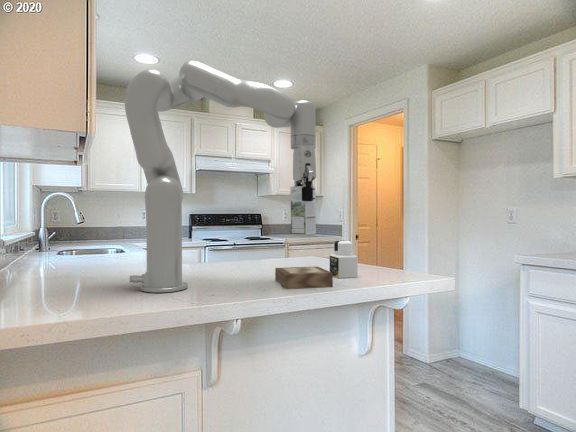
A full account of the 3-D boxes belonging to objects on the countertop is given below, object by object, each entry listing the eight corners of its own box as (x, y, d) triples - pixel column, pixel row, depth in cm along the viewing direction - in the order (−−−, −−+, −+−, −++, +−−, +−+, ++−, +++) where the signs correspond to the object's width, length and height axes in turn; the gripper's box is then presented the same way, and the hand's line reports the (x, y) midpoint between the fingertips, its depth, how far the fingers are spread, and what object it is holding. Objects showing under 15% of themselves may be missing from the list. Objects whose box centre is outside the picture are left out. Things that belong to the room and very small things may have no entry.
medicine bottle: (329, 275, 134) (329, 240, 134) (348, 274, 136) (348, 239, 136) (338, 278, 127) (338, 241, 127) (357, 277, 129) (357, 241, 129)
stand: (285, 288, 109) (285, 274, 109) (275, 280, 123) (275, 267, 123) (332, 286, 113) (332, 272, 113) (317, 278, 126) (317, 266, 126)
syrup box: (316, 233, 118) (316, 186, 118) (305, 234, 114) (305, 185, 114) (301, 233, 122) (301, 187, 122) (289, 234, 117) (289, 185, 117)
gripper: (324, 138, 110) (324, 200, 110) (306, 148, 127) (307, 202, 127) (298, 137, 108) (298, 200, 108) (284, 147, 125) (284, 202, 125)
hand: (303, 201), depth 118 cm, fingers closed on syrup box, 8 cm apart
